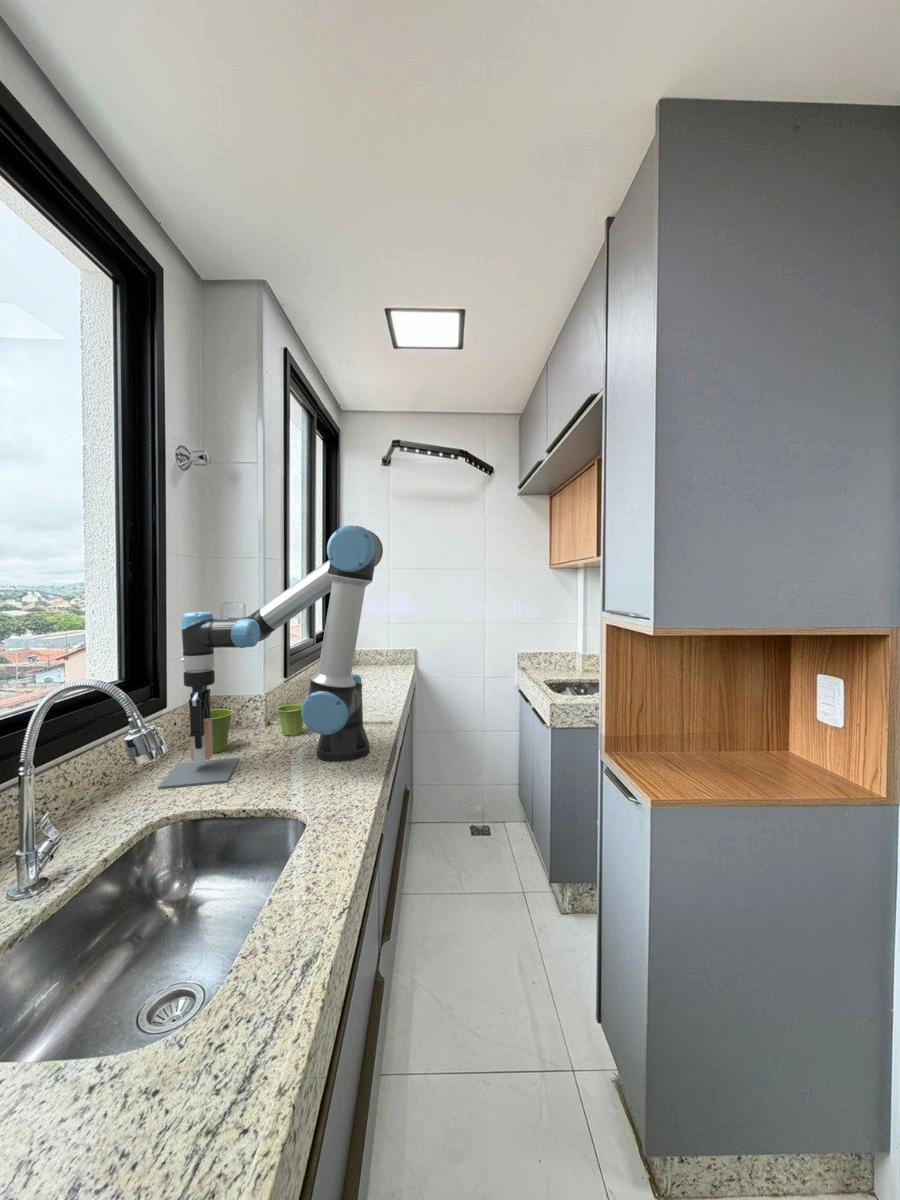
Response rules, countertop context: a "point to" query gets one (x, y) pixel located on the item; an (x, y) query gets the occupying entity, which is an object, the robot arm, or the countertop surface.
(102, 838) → the countertop surface
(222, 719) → the plant pot
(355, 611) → the robot arm
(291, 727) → the plant pot
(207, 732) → the block
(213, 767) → the mat
